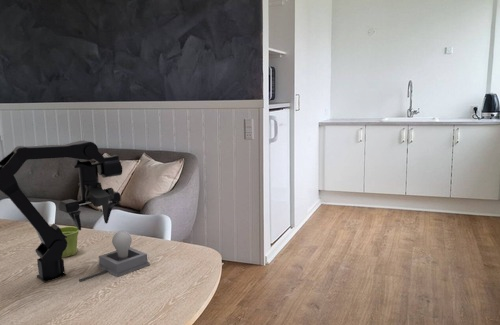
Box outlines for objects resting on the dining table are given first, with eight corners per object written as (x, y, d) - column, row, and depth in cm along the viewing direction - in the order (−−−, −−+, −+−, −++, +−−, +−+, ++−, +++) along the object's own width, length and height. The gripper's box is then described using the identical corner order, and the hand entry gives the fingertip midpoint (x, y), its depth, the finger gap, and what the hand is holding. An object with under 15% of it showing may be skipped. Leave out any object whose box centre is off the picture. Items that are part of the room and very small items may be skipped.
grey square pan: (89, 287, 126) (88, 275, 126) (70, 276, 135) (69, 264, 134) (149, 265, 142) (149, 254, 141) (129, 256, 150) (129, 245, 149)
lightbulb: (123, 268, 137) (121, 235, 135) (109, 265, 140) (107, 232, 138) (137, 262, 142) (135, 229, 141) (123, 258, 145) (121, 227, 144)
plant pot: (86, 249, 158) (84, 226, 156) (73, 259, 148) (71, 235, 147) (62, 249, 159) (59, 226, 157) (47, 259, 149) (45, 234, 148)
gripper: (72, 188, 127) (77, 239, 129) (128, 178, 140) (131, 224, 143) (55, 183, 134) (60, 232, 137) (110, 174, 148) (114, 218, 150)
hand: (93, 226), depth 141 cm, fingers open, 9 cm apart
